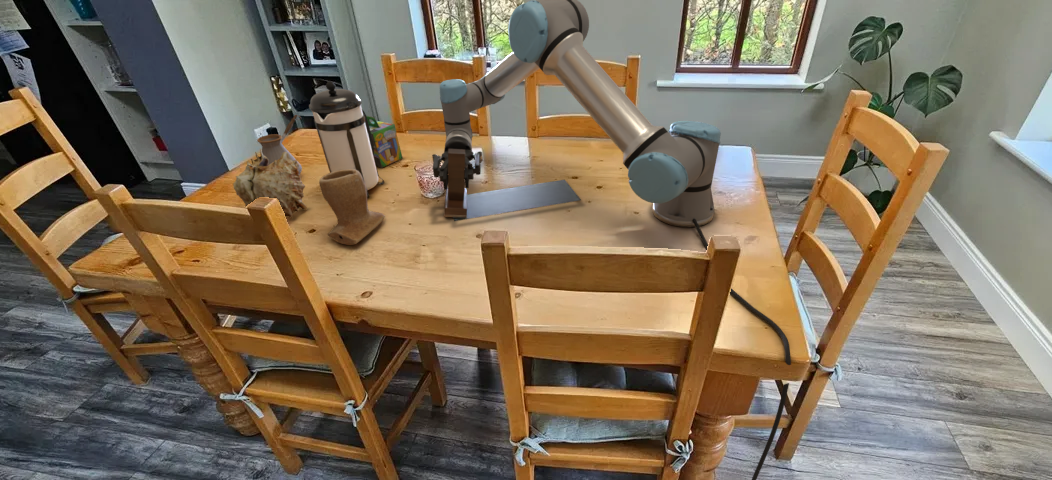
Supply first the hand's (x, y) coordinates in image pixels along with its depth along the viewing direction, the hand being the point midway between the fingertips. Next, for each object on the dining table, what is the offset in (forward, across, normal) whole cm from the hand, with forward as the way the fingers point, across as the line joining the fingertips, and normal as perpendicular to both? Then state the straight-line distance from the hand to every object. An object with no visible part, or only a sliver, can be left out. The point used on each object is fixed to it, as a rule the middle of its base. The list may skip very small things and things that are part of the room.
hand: (455, 183), depth 118 cm
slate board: (-8, -14, -11) cm, 19 cm away
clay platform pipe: (0, +26, -11) cm, 28 cm away
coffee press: (-26, +30, -11) cm, 41 cm away
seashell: (-12, +48, -11) cm, 51 cm away
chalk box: (-46, +26, -11) cm, 54 cm away
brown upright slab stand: (-5, +1, -9) cm, 10 cm away
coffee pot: (-41, +53, -11) cm, 68 cm away
